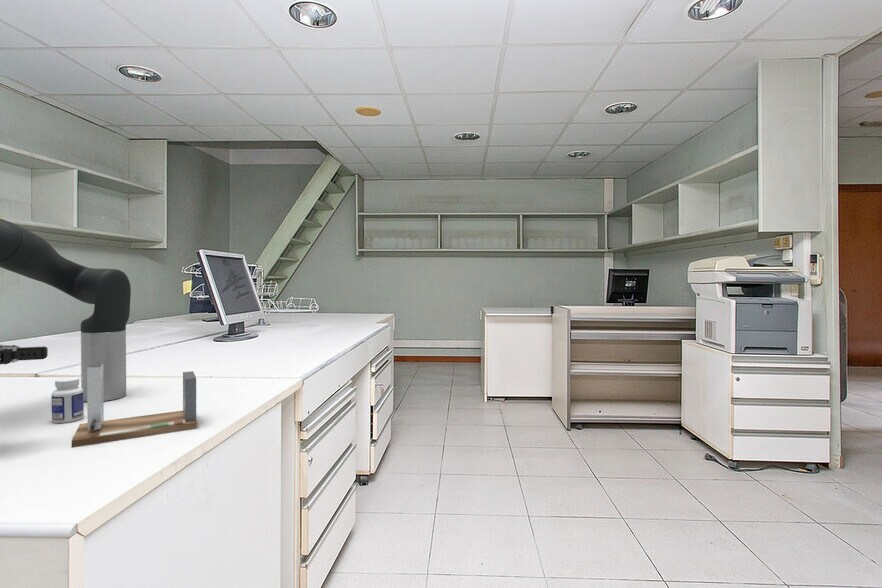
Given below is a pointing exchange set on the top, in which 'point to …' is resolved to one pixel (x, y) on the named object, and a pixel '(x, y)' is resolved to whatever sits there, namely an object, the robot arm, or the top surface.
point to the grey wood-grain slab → (189, 396)
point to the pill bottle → (67, 401)
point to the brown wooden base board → (132, 428)
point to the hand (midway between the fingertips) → (46, 352)
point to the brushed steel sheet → (95, 396)
